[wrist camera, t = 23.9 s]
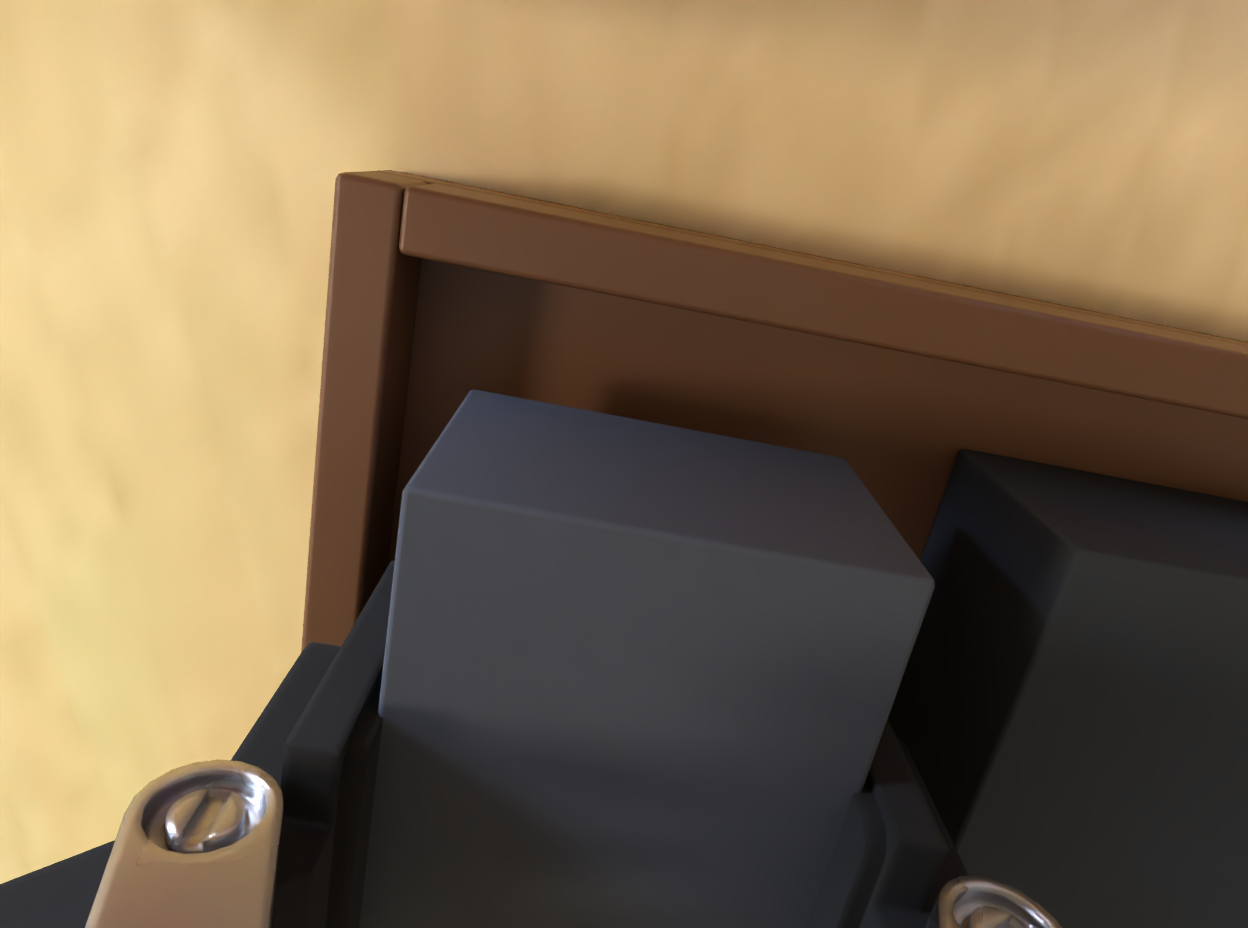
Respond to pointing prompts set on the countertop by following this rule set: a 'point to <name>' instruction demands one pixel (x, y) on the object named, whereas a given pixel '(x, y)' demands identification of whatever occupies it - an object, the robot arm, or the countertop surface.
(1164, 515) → the pad
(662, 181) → the countertop surface
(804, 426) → the brown wooden tray
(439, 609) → the pad
